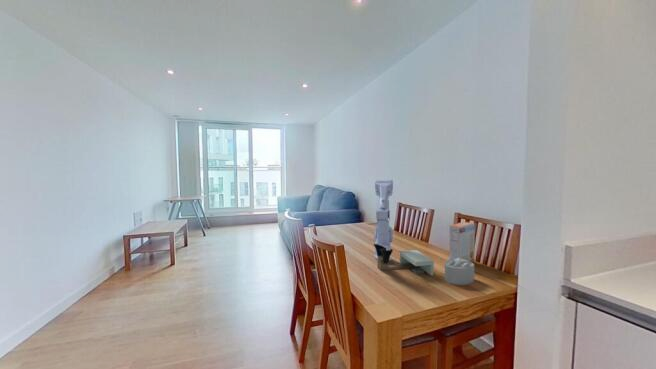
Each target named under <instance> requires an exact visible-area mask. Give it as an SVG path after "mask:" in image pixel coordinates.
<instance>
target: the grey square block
mask: <svg viewBox="0 0 656 369" xmlns="http://www.w3.org/2000/svg"><path fill="white" fill-rule="evenodd" d="M411 270H412V272H413V273H414V274H416V275H420V274H425V271H424V270H423V269H421V268H420V267H417V268H411Z"/></svg>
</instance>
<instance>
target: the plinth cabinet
mask: <svg viewBox="0 0 656 369" xmlns="http://www.w3.org/2000/svg"><path fill="white" fill-rule="evenodd" d="M408 263H412V264H413V265H415V266H417V268H421V269H422V270H423V271H424V273H425V272H426V274H428V275H430V276H434V266H435V265H434V263H435V262H434V260H433V259H432V258H430V257H429V256H426V255H425V254H423V253H422V252H420V251H418V250H417V249H415V250H413V249H411V250H400V251H399V264H408Z"/></svg>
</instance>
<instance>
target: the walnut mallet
mask: <svg viewBox="0 0 656 369" xmlns="http://www.w3.org/2000/svg"><path fill="white" fill-rule="evenodd" d="M416 267H417V268H418V266H415V265H413V264H412V263H408V264H400V263H398V264H397V263H396V264H389V262H388V263H385V264H384V263H383V256H378V259H377V269H378V270H379V271H381V272H382V271H389V270H401V269H403V270H404V269H412V268H416Z"/></svg>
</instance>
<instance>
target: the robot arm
mask: <svg viewBox="0 0 656 369" xmlns="http://www.w3.org/2000/svg"><path fill="white" fill-rule="evenodd" d="M393 188H394V182H393V179H375V181H374V189H375V196H378V197H379V199H378V200H377V209H376V212H375V217H376V218H375V219H376V226H375V228H374V241H375V242H374V243H373V246H374V254H373V257H374V258H375V259H377V260H378V256H383V263H384V264H385V263H388V264H389V261H394V259H393V258H392V257H391V256H392V254H393V251H394V250H393V249H392V246H391V243H393V242H394V240H393V238H394V237H393V236H394V233H393V232H394V231H393V228H392V227H391V226H390V220H391V219H390V218H391V217H390V216H391V211H390V200H389V198H390V197H391V196H392V195H393V194H394V193H393V191H394V189H393Z"/></svg>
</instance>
